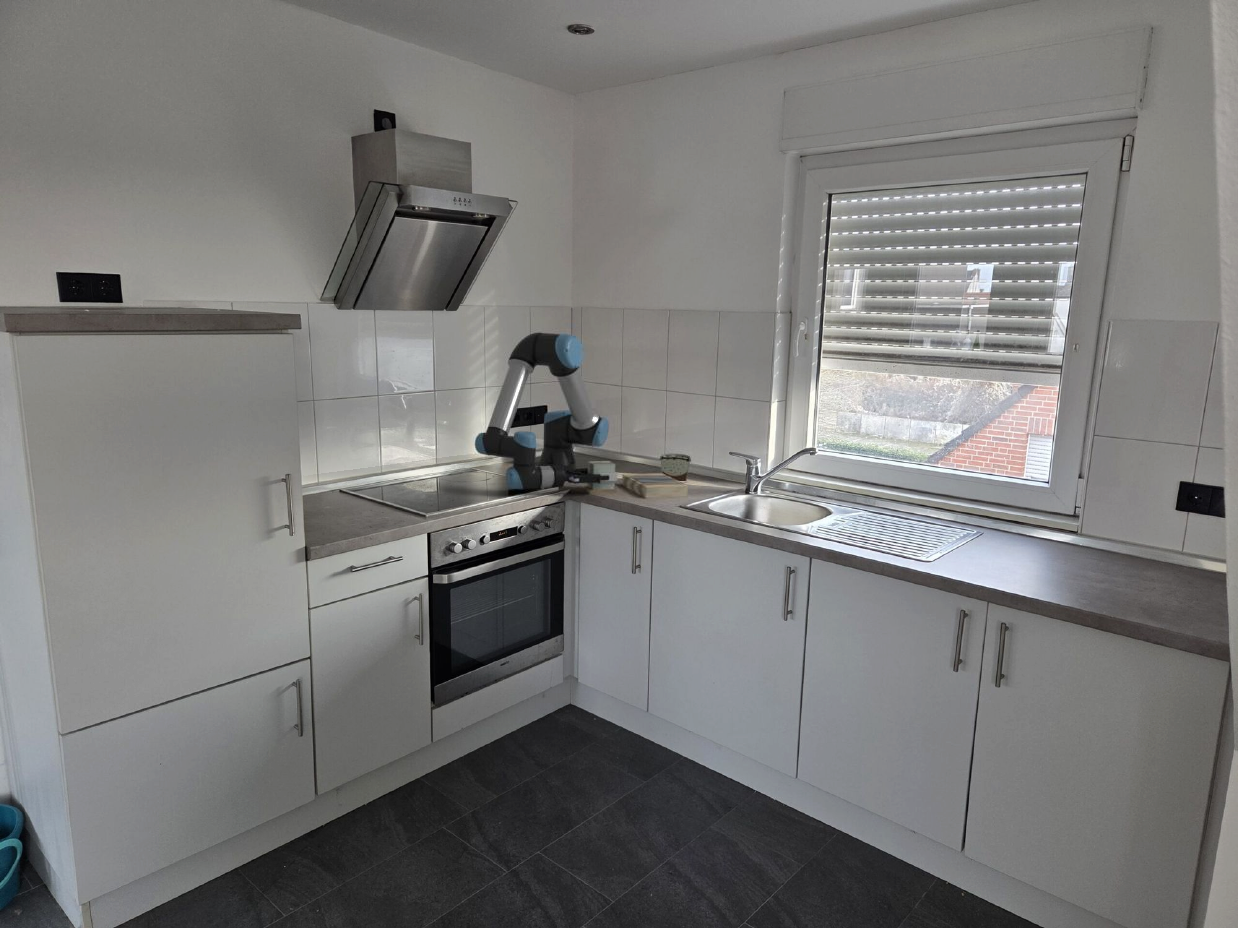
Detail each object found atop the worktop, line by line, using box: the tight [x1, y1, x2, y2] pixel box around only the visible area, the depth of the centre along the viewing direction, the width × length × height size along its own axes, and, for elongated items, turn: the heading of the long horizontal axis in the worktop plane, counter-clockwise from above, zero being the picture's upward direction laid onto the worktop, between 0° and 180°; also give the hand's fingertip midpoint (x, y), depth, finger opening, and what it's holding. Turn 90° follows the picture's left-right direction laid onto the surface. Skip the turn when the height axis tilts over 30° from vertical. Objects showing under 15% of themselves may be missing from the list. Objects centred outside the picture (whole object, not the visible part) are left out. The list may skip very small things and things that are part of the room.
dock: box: [621, 472, 689, 499], centre depth 295 cm, size 22×16×4 cm
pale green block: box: [584, 460, 618, 495], centre depth 289 cm, size 6×10×10 cm, turn 112°
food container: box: [659, 453, 692, 482], centre depth 315 cm, size 12×6×10 cm, turn 84°
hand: (612, 474), depth 290 cm, fingers open, 7 cm apart
